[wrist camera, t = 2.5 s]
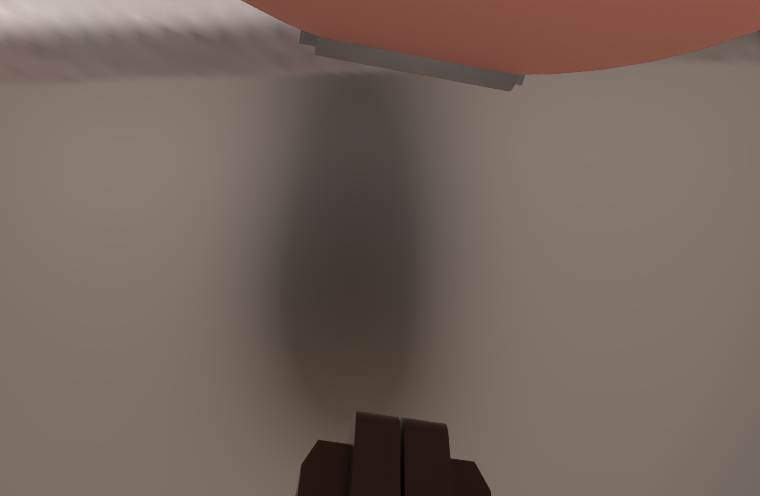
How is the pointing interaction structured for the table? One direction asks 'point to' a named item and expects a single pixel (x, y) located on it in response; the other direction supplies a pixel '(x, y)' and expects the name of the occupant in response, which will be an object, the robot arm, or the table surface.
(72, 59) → the table surface
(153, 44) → the table surface
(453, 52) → the lid
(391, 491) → the robot arm
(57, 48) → the table surface
